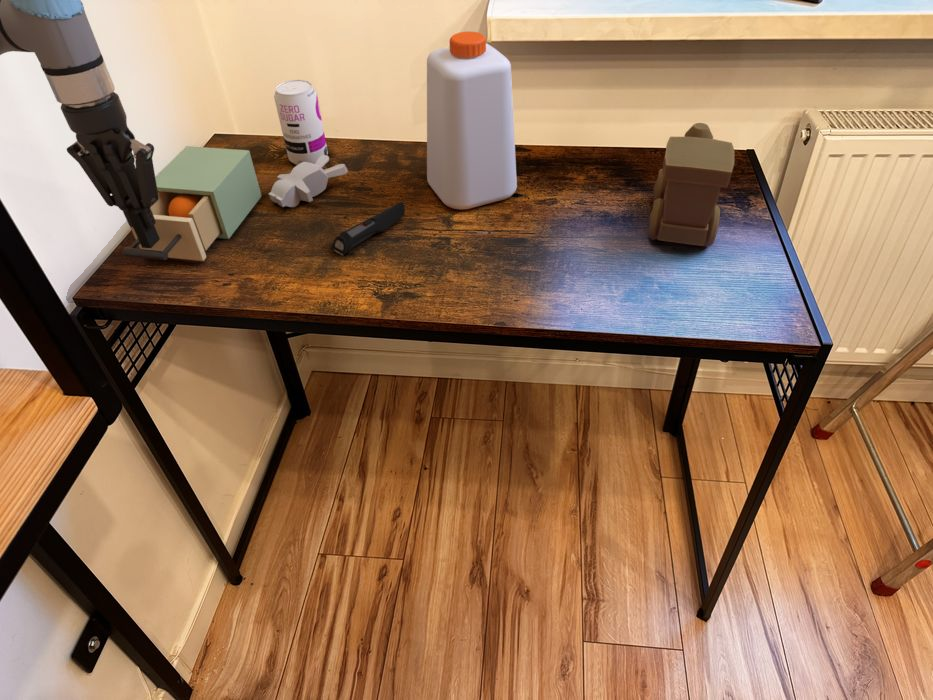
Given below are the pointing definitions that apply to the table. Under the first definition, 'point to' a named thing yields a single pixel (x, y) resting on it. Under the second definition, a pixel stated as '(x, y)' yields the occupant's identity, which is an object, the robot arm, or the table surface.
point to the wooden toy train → (691, 188)
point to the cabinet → (215, 182)
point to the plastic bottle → (470, 123)
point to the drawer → (180, 231)
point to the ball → (182, 205)
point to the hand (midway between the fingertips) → (151, 243)
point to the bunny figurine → (304, 182)
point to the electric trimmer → (368, 228)
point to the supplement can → (300, 121)
